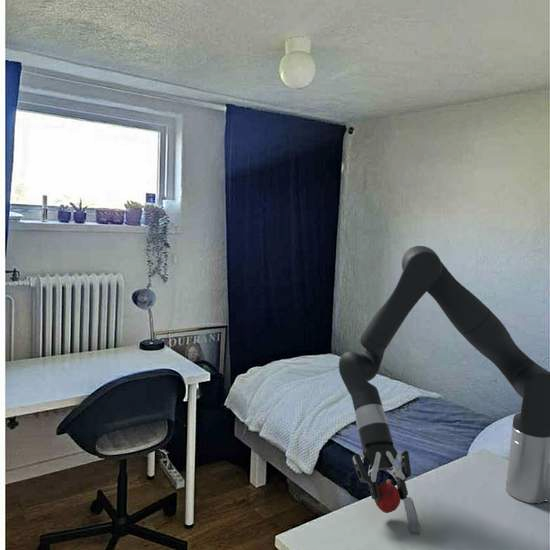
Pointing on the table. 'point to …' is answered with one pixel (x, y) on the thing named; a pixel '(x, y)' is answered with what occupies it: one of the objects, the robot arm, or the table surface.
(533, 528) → the table surface
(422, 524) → the table surface
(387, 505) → the onion
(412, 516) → the flat gray rectangular bar
